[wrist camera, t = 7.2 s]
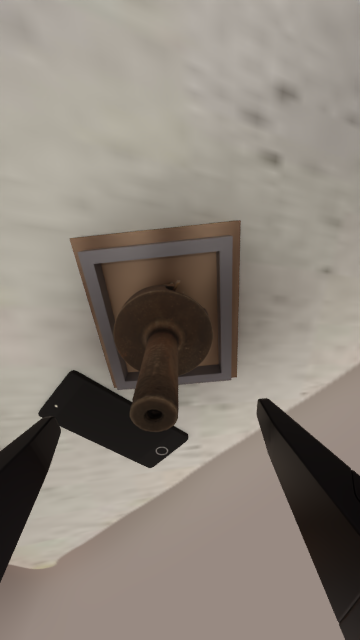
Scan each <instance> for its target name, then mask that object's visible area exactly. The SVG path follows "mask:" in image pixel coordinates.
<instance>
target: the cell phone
mask: <svg viewBox="0 0 360 640" xmlns="http://www.w3.org/2000/svg"><path fill="white" fill-rule="evenodd" d="M131 405H132V402H130V401H129V400H127V399H125V398H123V397H122V396H120V395H118V394H116V393H115V392H113V391H111V390H109V389H107V388H106V387H104V386H102V385H100V384H99V383H97V382H95V381H93V380H92V379H90V378H88V377H86V376H85V375H83V374H81V373H79V372H77V371H75V370H73V371H71V372H69V373H68V375H67V376H66V377H65V378H64V380H63V381H62V382H61V384H60V385H59V386H58V387H57V389H56V390H55V391H54V393H53V394H52V395H51V397H50V398H49V399H48V400H47V402H46V403H45V404H44V406H43V407H42V408H41V410H40V411H39V413H38V414H39V416H40V417H42V418H44V417H50V416H53V417H55V418H56V420H57V422H58V424H59V426H61V427H63V428H65V429H67V430H69V431H71V432H74V433H76V434H78V435H80V436H82V437H84V438H86V439H88V440H91V441H93V442H95V443H97V444H99V445H101V446H103V447H105V448H107V449H110V450H112V451H114V452H116V453H118V454H120V455H122V456H124V457H127V458H129V459H131V460H133V461H135V462H137V463H139V464H141V465H144V466H146V467H148V468H152V467H154V466H155V465H157V464H158V463H159V462H160V461H162V460H163V459H164V458H166V457H167V456H168V455H169V454H171V453H172V452H173V451H174V450H176V449H177V448H178V447H180V446H181V445H182V444H183V443H185V442H186V441H187V440H188V434H187V433H185V432H183V431H182V430H180V429H178V428H176V427H175V426H172V427H171V428H169V429H167V430H163V431H160V432H150V431H145V430H142V429H140V428H139V427H138V426H136V425H135V424H134V423H133V421H132V420H131V418H130V407H131Z"/></svg>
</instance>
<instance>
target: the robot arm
mask: <svg viewBox="0 0 360 640" xmlns="http://www.w3.org/2000/svg"><path fill="white" fill-rule="evenodd" d="M257 418H258V421H259V425H260V428H261V431H262V434H263V438H264V441H265V444H266V448H267V450H268V454H269V456H270V459H271V462H272V464H273V466H274V469H275V471H276V474H277V476H278V479H279V481H280V484H281V486H282V488H283V491H284V493H285V496H286V498H287V500H288V503H289V505H290V508H291V510H292V512H293V515H294V517H295V520H296V522H297V524H298V526H299V529H300V532H301V534H302V536H303V539H304V541H305V544H306V546H307V548H308V551H309V553H310V556H311V558H312V561H313V563H314V565H315V568H316V570H317V573H318V575H319V577H320V580H321V582H322V585H323V587H324V589H325V591H326V594H327V597H328V599H329V601H330V604H331V606H332V609H333V611H334V613H335V616H336V618H337V621H338V622H339V626H340V628H341V630H342V633H343V635H344V638H345V640H360V476H359V475H358V474H357V473H356V472H355V471H353V470H351V468H350V467H349V466H348V465H346V464H345V463H344V462H343V461H342V460H340V459H339V458H338V457H337V456H336V455H334V454H333V453H332V452H331V451H330V450H329V449H327V448H326V447H325V446H324V445H323V444H321V443H320V442H319V441H318V440H317V439H315V438H314V437H313V436H312V435H311V434H310V433H308V432H307V431H306V430H305V429H304V428H302V427H301V426H300V425H299V424H298V423H297V422H295V421H294V420H293V419H292V418H291V417H290V416H288V415H287V414H286V413H285V412H284V411H282V410H281V409H280V408H279V407H278V406H277V405H275V404H274V403H273V402H272V401H271V400H269V399H267V398H264V399H258V403H257ZM60 434H61V429H60V426H59V424H58V422H57V420H56V418H55V417H53V416H50V417H44V418H42V419H41V420H39V421H38V422H37V423H36V424H34V425H33V426H32V427H31V428H29V429H28V430H27V431H25V432H24V433H23V434H22V435H20V436H19V437H18V438H17V439H15V440H14V441H13V442H11V443H10V444H9V445H8V446H6V447H5V448H4V449H3V450H1V451H0V582H1V580H2V577H3V575H4V573H5V570H6V568H7V566H8V563H9V561H10V559H11V556H12V554H13V552H14V549H15V547H16V545H17V543H18V540H19V538H20V536H21V533H22V531H23V529H24V526H25V524H26V522H27V519H28V517H29V515H30V512H31V510H32V508H33V505H34V503H35V501H36V498H37V496H38V494H39V491H40V489H41V487H42V484H43V482H44V480H45V477H46V475H47V472H48V470H49V467H50V464H51V461H52V458H53V455H54V452H55V449H56V446H57V443H58V440H59V437H60Z"/></svg>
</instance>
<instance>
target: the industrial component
mask: <svg viewBox="0 0 360 640" xmlns="http://www.w3.org/2000/svg"><path fill="white" fill-rule="evenodd" d="M179 284H180V280H177V281H176V283H175V284H173V282H170V284H163V285H155V286H150V287H147V288H144V289H142V290H140V291H138V292H137V293H135V294H134V295H132V296H131V297H130V298H129V299H128V300H127V302H126V303H125V304H124V306H123V307H122V309H121V311H120V312H119V314H118V315H117V318H116V321H115V324H114V331H113V335H114V342H115V345H116V348H117V350H118V352H119V354H120V355H121V357H122V358H123V359H124V360H125V361H126V362H127V363H128V364H129V365H130V366H131V367H133V368H134V369H136V370H137V371H139V372H140V373H139V376H138V380H137V384H136V388H135V393H134V396H133V399H132V400H133V402H132V405H131V407H130V418H131V420H132V421H133V423H134V424H135V425H136V426H138V427H139V428H140V429H142V430H145V431H150V432H160V431H163V430H167V429H169V428H171V427H172V426H173V425H174V424H175V423H176V421H177V419H178V401H179V400H178V376H179V375H183V374H186V373H188V372H190V371H191V370H193V369H195V368H196V367H197V366H199V365H200V364H201V363H202V362H203V361H204V359H205V358H206V357H207V355H208V353H209V351H210V349H211V346H212V342H213V329H212V324H211V321H210V318H209V315H208V312H207V310H206V309H205V308H203V307H202V306H201V305H200V304H199V303H198V302H196V301H195V300H194V299H192V298H191V297H189V296H187V295H184V294H185V293H184V292H183V293H184V294H182V293H179V292H176V291H175V290H176V289H177V287H178V286H179Z"/></svg>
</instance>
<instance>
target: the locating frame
mask: <svg viewBox="0 0 360 640" xmlns="http://www.w3.org/2000/svg"><path fill="white" fill-rule="evenodd" d="M232 248H233V236H230V235H224V236H215V237H205V238H195V239H186V240H176V241H167V242H157V243H148V244H138V245H129V246H119V247H110V248H100V249H91V250H84V251H80V252H77V253H78V256H79V260H80V263H81V267H82V270H83V273H84V277H85V280H86V284H87V287H88V290H89V294H90V297H91V301H92V304H93V308H94V311H95V314H96V318H97V321H98V325H99V328H100V332H101V335H102V338H103V342H104V345H105V349H106V352H107V355H108V359H109V362H110V366H111V369H112V373H113V376H114V379H115V383H116V386H117V390H123V389H135V388H136V384H137V380H138V376H139V373H140V372H139V371H138V372H128V370H127V366H126V362H125V360H124V359H123V358H122V357H121V355H120V354H119V352H118V350H117V348H116V345H115V342H114V335H113V331H114V324H115V319H114V315H113V311H112V307H111V303H110V299H109V295H108V291H107V287H106V283H105V279H104V275H103V271H102V267H101V263H109V262H118V261H128V260H138V259H148V258H157V257H167V256H177V255H186V254H196V253H206V252H216V260H217V305H218V351H219V364H217V365H205V366H197V367H196V368H195V369H193V370H191V371H190V372H188V373H186V374H183V375H179V376H178V385H180V384H192V383H203V382H215V381H226V380H231V353H232Z"/></svg>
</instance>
